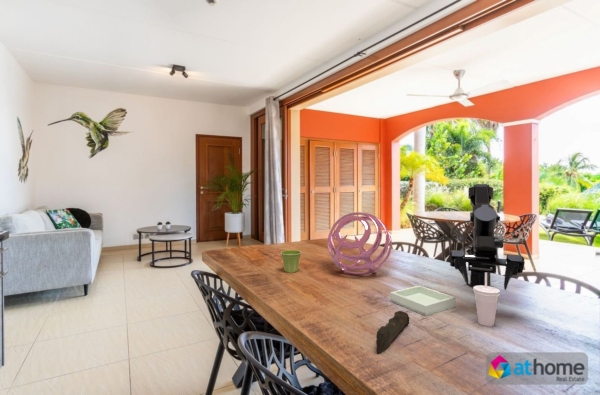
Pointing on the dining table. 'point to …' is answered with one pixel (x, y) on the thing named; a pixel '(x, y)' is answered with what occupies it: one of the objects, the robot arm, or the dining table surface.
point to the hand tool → (391, 330)
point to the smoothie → (486, 303)
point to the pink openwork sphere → (358, 244)
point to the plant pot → (291, 260)
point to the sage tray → (423, 300)
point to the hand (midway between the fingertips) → (485, 286)
